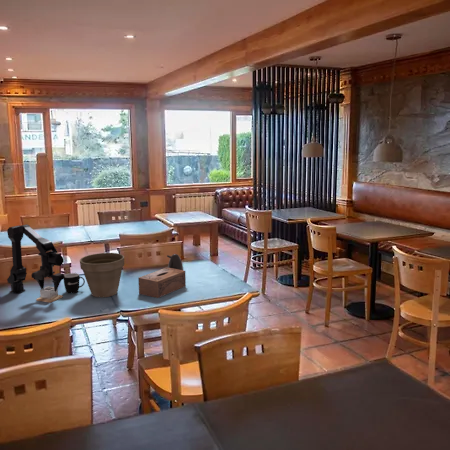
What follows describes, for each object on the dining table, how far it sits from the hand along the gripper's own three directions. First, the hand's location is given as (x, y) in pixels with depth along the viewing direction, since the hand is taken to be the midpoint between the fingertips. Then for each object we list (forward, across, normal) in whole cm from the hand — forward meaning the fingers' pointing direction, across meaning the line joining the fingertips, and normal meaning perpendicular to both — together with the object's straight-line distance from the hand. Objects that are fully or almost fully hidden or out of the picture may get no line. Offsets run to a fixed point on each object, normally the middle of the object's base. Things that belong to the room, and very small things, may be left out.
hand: (49, 290), depth 274 cm
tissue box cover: (+5, +53, +36) cm, 64 cm away
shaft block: (+5, 0, 0) cm, 5 cm away
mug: (+5, +5, +16) cm, 18 cm away
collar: (+4, 0, 0) cm, 4 cm away
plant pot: (+5, +24, +18) cm, 31 cm away
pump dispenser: (+5, +48, +63) cm, 79 cm away
